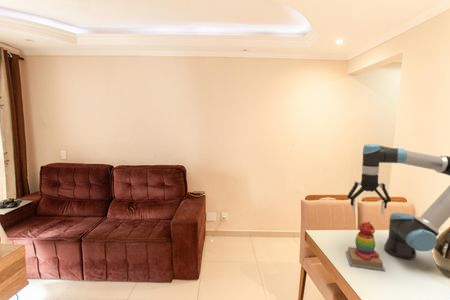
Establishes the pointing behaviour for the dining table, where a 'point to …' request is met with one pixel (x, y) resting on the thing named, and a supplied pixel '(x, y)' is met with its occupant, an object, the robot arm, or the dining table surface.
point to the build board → (364, 261)
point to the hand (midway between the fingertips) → (367, 212)
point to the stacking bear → (366, 242)
